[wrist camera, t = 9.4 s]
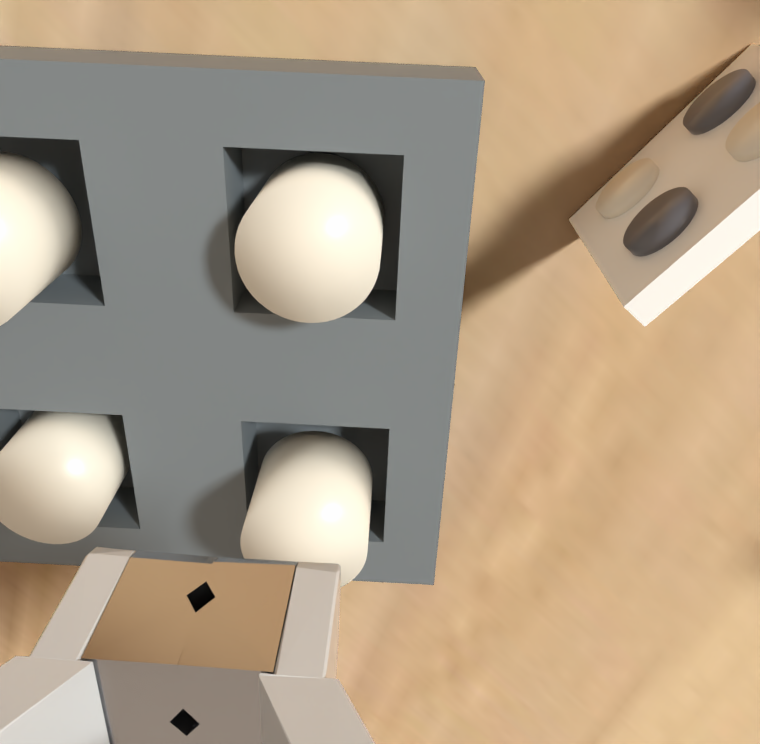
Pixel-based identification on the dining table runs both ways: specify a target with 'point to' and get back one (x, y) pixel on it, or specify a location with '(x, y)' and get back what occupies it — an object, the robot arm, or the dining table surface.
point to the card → (681, 196)
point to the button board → (239, 286)
